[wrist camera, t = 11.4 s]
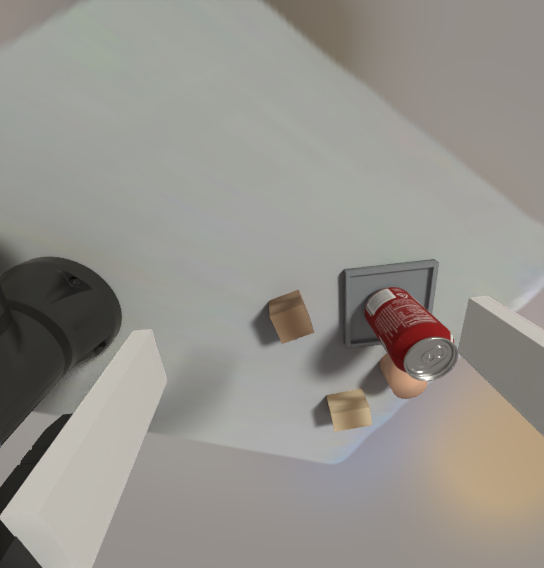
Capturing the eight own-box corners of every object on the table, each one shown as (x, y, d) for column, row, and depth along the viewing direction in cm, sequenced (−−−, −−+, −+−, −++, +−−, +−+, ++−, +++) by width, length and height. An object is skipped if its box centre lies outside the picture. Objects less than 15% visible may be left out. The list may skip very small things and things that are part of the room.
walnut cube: (280, 325, 42) (282, 343, 38) (268, 300, 41) (269, 316, 36) (309, 315, 42) (314, 332, 38) (298, 289, 40) (302, 304, 36)
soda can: (354, 299, 40) (388, 353, 29) (399, 275, 39) (453, 321, 28) (374, 333, 42) (412, 394, 32) (417, 312, 41) (472, 368, 30)
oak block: (329, 411, 50) (334, 431, 46) (326, 394, 48) (331, 414, 45) (363, 405, 49) (371, 425, 46) (361, 387, 48) (369, 407, 44)
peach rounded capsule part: (378, 376, 47) (391, 400, 42) (380, 351, 45) (393, 373, 40) (409, 373, 47) (425, 396, 42) (412, 348, 45) (429, 370, 40)
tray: (344, 343, 44) (346, 348, 43) (344, 269, 39) (346, 272, 38) (424, 334, 44) (428, 339, 42) (434, 259, 39) (439, 262, 38)
